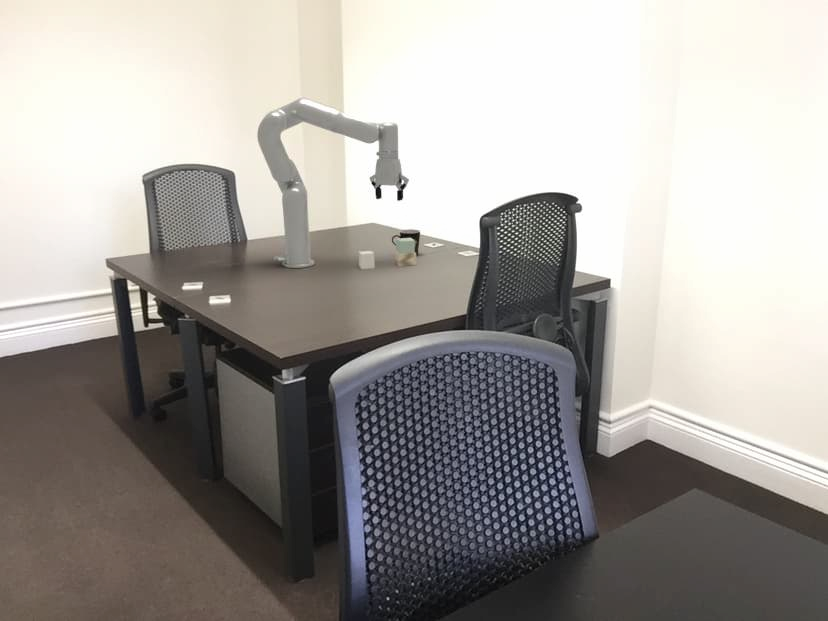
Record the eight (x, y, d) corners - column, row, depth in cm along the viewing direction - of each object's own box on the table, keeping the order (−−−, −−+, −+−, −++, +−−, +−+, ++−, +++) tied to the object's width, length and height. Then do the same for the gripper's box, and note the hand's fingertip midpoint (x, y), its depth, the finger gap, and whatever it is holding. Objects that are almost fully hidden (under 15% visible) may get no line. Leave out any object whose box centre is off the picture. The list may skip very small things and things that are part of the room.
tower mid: (400, 254, 286) (399, 241, 285) (396, 250, 292) (395, 238, 290) (414, 252, 288) (414, 240, 286) (410, 249, 293) (410, 237, 292)
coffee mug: (421, 252, 310) (421, 229, 308) (419, 257, 302) (419, 233, 299) (394, 252, 312) (393, 229, 309) (391, 256, 303) (391, 233, 300)
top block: (362, 269, 283) (361, 254, 281) (359, 266, 287) (358, 251, 286) (374, 268, 284) (374, 253, 282) (371, 265, 289) (371, 250, 287)
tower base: (399, 266, 287) (399, 254, 285) (394, 263, 293) (394, 250, 292) (416, 265, 289) (416, 253, 287) (411, 261, 295) (411, 249, 294)
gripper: (364, 155, 284) (365, 199, 289) (403, 157, 276) (403, 202, 281) (374, 154, 290) (375, 197, 295) (412, 155, 283) (413, 199, 287)
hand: (389, 199), depth 288 cm, fingers open, 9 cm apart
